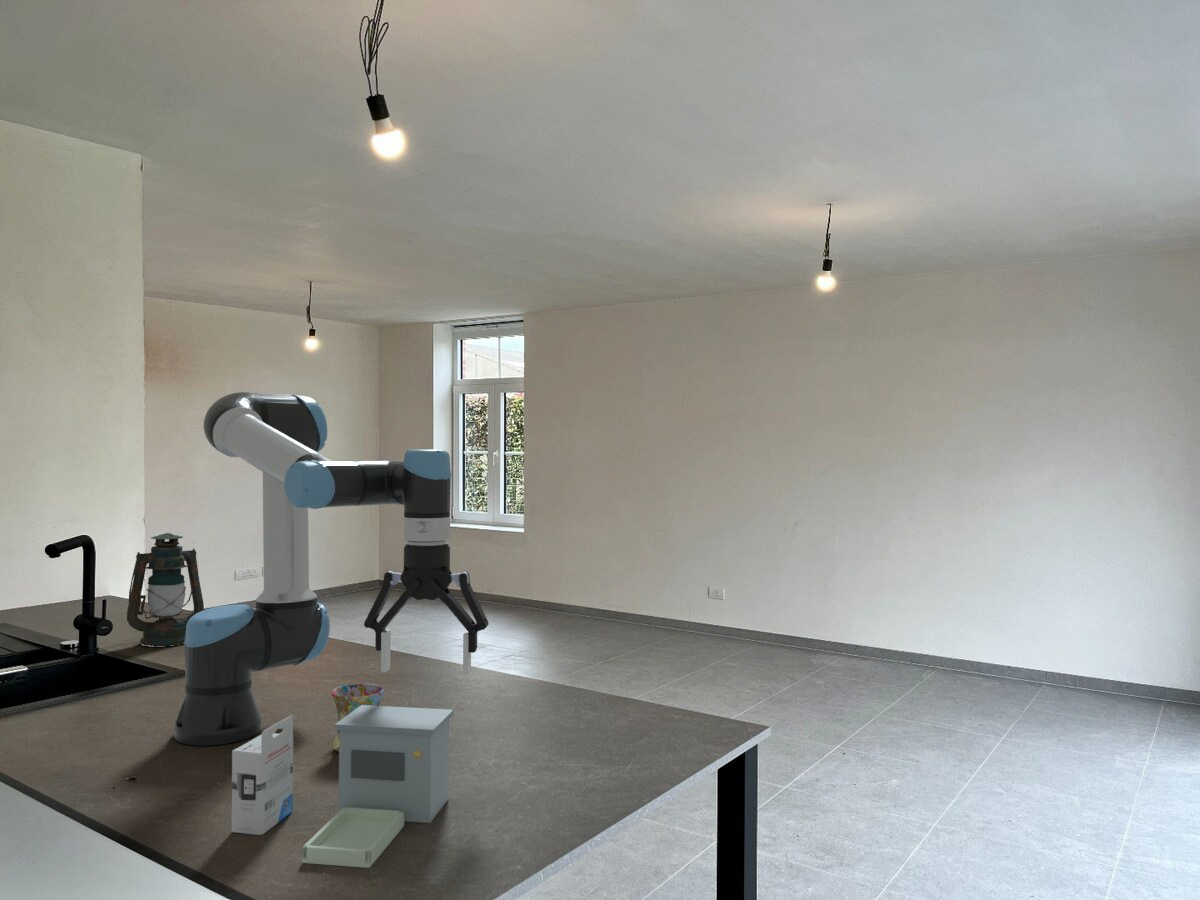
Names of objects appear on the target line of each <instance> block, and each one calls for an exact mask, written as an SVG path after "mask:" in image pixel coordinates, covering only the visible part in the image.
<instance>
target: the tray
mask: <svg viewBox="0 0 1200 900" xmlns="http://www.w3.org/2000/svg"><path fill="white" fill-rule="evenodd" d="M404 827H405V821H404V811H396V810H382V809H367V808H352V807H343V808H342V809H341V810H340V811H339V810H338V811H337V813H336V814H335V815H334V816H333V817H332V818H331V819H329V820H328V822H326V824H324V825H323V826H322V827H321V828H320V829H319V830H318V831H317V832H316V833H315V834H314V835H313V836H312V837H311V838H310V839H309V840H308V841H307V842H306V843H305V844H304V845H303V846H302V848H301V850H302V853H301V855H302V857H301V858H302V859H301V860H302V862H301V863H302V864H312V865H313V864H314V865H324V866H325V865H328V866H336V867H338V866H339V867H340V866H341V867H350V868H352V867H354V868H367V869H370V868H371V866H372V865H373V864H374V863H375V862H376V860H378V858H379V857H380V856H381V855H382V853H383V852H384V851H385V850H386V848H387V847H388V846H389V845H390V844H391V842H392V841H393V840H394V838H395V837H396V836H397V835H398V834H399V833H400V832H401V830H402V829H403V828H404Z"/></svg>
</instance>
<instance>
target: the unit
mask: <svg viewBox="0 0 1200 900" xmlns="http://www.w3.org/2000/svg"><path fill="white" fill-rule="evenodd" d="M453 716H454V709H448V708H446V709H445V708H430V707H429V708H428V707H427V708H423V707H408V706H406V707H405V706H387V705H379V706H371V705H361V706H359V707H358V708H357V709H355V710H354V711H353V712H351V713H350V714H348V715H347V716H346V717H344V718H343V719H342V720H340V721H339V722H338V721H337V722H336V723H335V724H334V730H335V731H338V730H339V751H338V812H339V811H340V810H341V809H342V808H343V807H352V808H367V809H382V810H396V811H404V822H409V823H424V824H431V823H432V821H433V820H434V819H435V817H436V816H437V815H438V813H439V812H440V811H441V810H442V808H443V807H444V805H445V804H446V803H447V802H448V800H449V790H450V789H449V788H450V786H449V785H450V782H449V780H450V777H449V776H450V773H449V771H450V767H449V765H450V719H451V718H452V717H453Z"/></svg>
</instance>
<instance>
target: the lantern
mask: <svg viewBox="0 0 1200 900" xmlns="http://www.w3.org/2000/svg"><path fill="white" fill-rule="evenodd" d="M182 538H184V536H182V535H177V534H173V533H171V532H165V533H163V534H158V535H155V536H151V537H150V539H153V540H155V542H154V544H153V545H154V546H152V547H150V552H146V553H140V551H137V554H136V556H135V558H136V560H135V564H134V568H133V570H132V571H133V572H132V576H131V581H130V586H129V592H128V606H127V610H126V621H127V622H128V623H127V624H128V625H129V626H130V627H131V628H132V629H134V630H136V631H139V632H142V634H143V635H142V637H141V638H140V641H139V644H140V643H142V644H144V645H151V646H152V645H153V646H170V645H178V644H183V643H184V640H185V636H186V626H187V622H188V620H189V619H190V618H191V617H192V616H193V615H195V614H196V613H199V612H201V611H204V610H205V607H204V606H205V605H204V599H203V593H202V587H201V583H200V576H199V568H198V561H197V553H198V552H197V551H196V549H195V548H192V549H191V550H183V546H181V545H180V542H179V539H182ZM167 540H168V541H167ZM185 562H186V565H185ZM147 565H148V566H147ZM183 568H187V573H188V574H187V575H188V579H189V584H190V585H189V587H190V593H189V597H188V600H187V601H186V603H185V598H186V589H187V586H185V585H186V584H185V583H186V580H185V575H183V574H182V569H183ZM146 570H151V572H152V575H150V576H149V577H148V579H147V580H148V581H147V585H148V588H146V591H147V595H144V594H143V595H142V591H143V586H144V580H145V575H146ZM191 597H192V604H193V612H189V613H184V612H183V611H184V610H183V608H184V607H185V606H186V605H187V604H188V603H189V602H190V601H191ZM146 598H147V605H148V607H149V611H146V610H145V604H146V603H145V602H146ZM143 614H144V617H145V619H147V620H148V619H149V620H150V619H151V618H156V619H157V620H155V621H152V622H151V621H149V622H148V621H144V620H142V619H140V618H139V617H138V615H139V616H143ZM147 614H149V616H148V617H147ZM179 616H183V617H181V618H177V617H179Z"/></svg>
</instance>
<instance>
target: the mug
mask: <svg viewBox="0 0 1200 900" xmlns="http://www.w3.org/2000/svg"><path fill="white" fill-rule="evenodd" d="M384 693H385V688H384V686H382V685H379V684H374V683H351V684H344V685H340V686H338V687H335V688H333V689H332V690H331V692H330V694H331V697H332V698H333V702H334V704H335V707H336V711H337V712H336V713H337V718H338V719H337V720H338V721H337V722H339V721H340V720H342V719H343V718H344V717H346V716H347V715H348V714H350V713H351V712H353V711H354V710H355V709H357V708H358V707H359V706H361V705H371V706H380V704H381V701H382V697H383V695H384ZM332 744H333V745H332V748H333V749H334V750H335V751H337V752H339V730H337V732H336V737H335V739H334V742H333V743H332Z"/></svg>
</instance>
